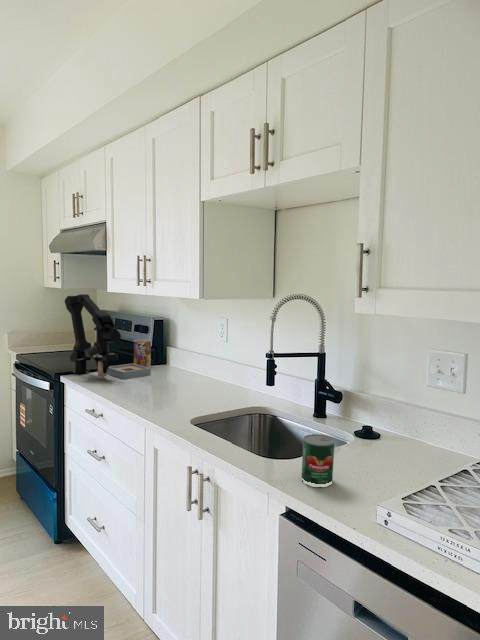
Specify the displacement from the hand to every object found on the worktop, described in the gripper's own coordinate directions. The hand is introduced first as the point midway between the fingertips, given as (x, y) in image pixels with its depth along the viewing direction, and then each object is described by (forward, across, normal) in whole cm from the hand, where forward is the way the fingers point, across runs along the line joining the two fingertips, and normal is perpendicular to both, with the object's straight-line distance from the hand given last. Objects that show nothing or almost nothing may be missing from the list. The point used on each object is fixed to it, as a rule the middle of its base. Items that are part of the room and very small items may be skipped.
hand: (102, 372), depth 227 cm
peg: (+2, 0, 0) cm, 2 cm away
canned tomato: (+3, +137, -16) cm, 138 cm away
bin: (+3, -1, +15) cm, 15 cm away
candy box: (+3, -11, +30) cm, 32 cm away
